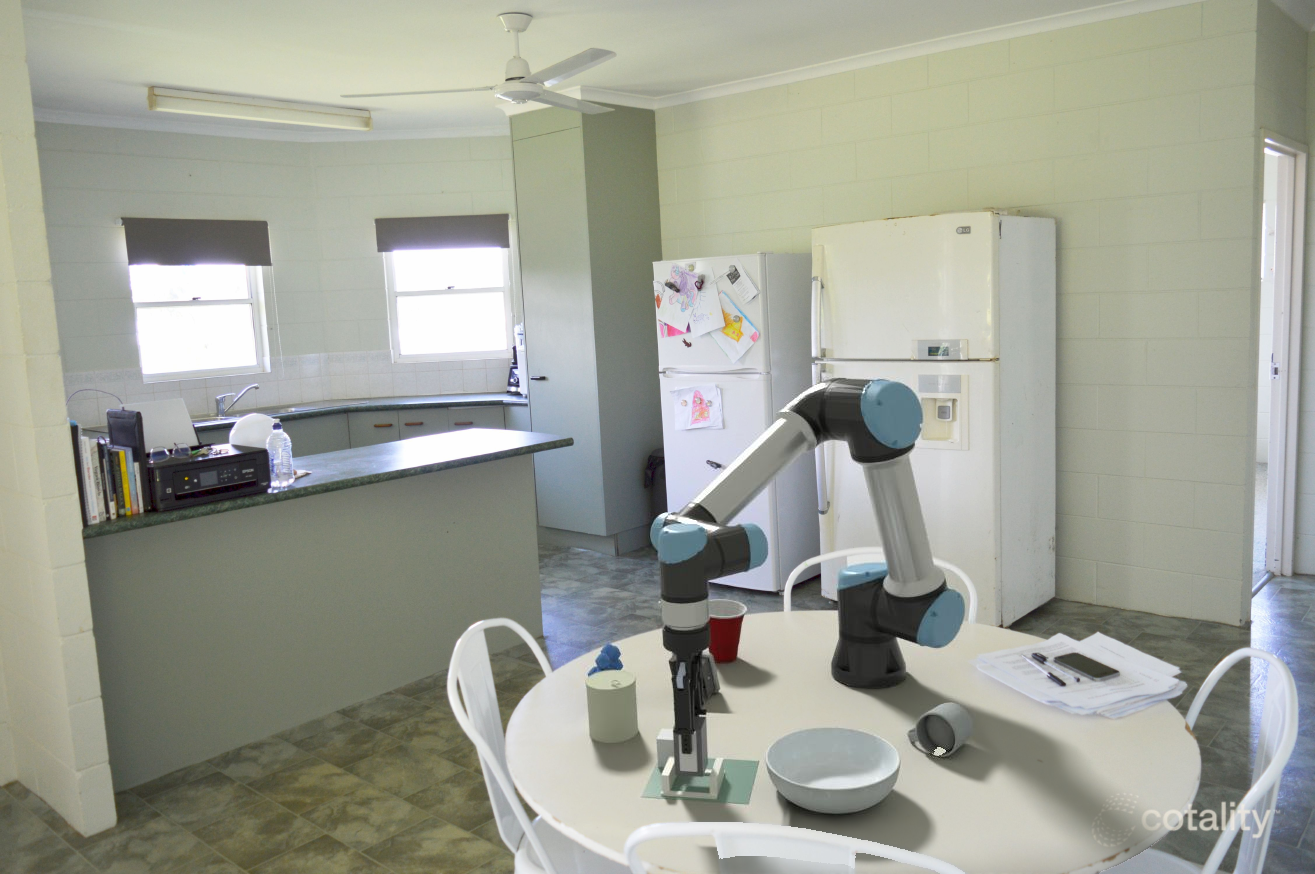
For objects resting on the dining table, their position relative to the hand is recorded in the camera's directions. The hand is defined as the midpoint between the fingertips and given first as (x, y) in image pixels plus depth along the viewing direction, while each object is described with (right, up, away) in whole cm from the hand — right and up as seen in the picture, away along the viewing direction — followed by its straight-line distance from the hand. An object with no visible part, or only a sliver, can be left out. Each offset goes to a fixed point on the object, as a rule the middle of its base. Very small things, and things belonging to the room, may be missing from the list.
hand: (692, 761), depth 155 cm
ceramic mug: (+43, -2, +12) cm, 45 cm away
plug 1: (-3, -3, +8) cm, 9 cm away
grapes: (-16, -1, +37) cm, 40 cm away
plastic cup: (+9, +3, +58) cm, 58 cm away
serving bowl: (+22, -5, -2) cm, 23 cm away
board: (+2, -5, +3) cm, 6 cm away
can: (-13, -3, +21) cm, 25 cm away
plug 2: (0, -1, 0) cm, 1 cm away
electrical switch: (+2, 0, +40) cm, 40 cm away
